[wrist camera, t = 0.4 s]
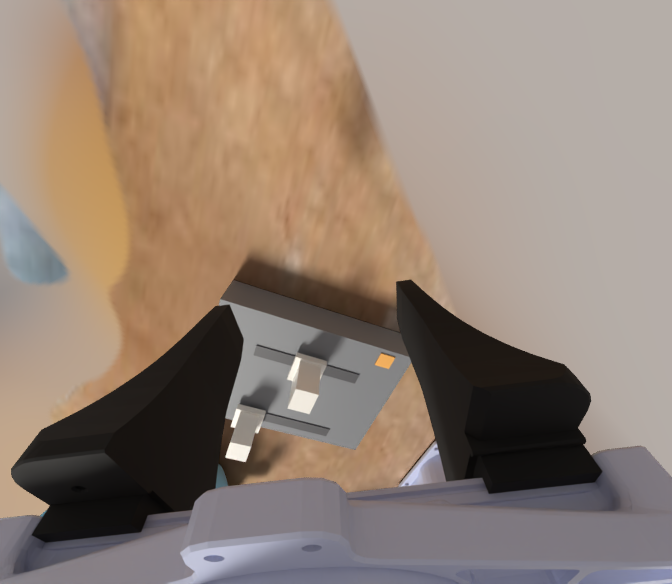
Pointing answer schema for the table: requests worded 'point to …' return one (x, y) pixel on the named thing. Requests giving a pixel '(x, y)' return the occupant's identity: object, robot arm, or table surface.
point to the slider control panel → (320, 342)
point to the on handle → (244, 431)
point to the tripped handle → (305, 382)
